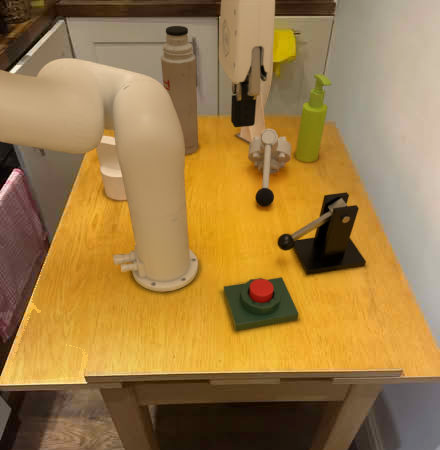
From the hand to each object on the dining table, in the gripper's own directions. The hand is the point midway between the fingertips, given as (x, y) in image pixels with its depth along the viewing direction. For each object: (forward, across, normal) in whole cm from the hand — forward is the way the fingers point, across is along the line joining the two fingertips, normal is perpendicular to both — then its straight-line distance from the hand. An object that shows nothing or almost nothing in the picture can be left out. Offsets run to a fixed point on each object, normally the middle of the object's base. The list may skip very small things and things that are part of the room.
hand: (242, 123), depth 61 cm
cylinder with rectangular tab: (+27, -29, -20) cm, 45 cm away
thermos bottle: (+27, -46, -3) cm, 54 cm away
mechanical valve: (+27, -24, +14) cm, 39 cm away
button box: (+27, +13, +1) cm, 30 cm away
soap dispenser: (+27, -34, +28) cm, 52 cm away
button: (+24, +13, +1) cm, 27 cm away
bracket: (+27, +3, +18) cm, 33 cm away
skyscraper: (+27, -47, +17) cm, 57 cm away
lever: (+20, +3, +14) cm, 25 cm away
